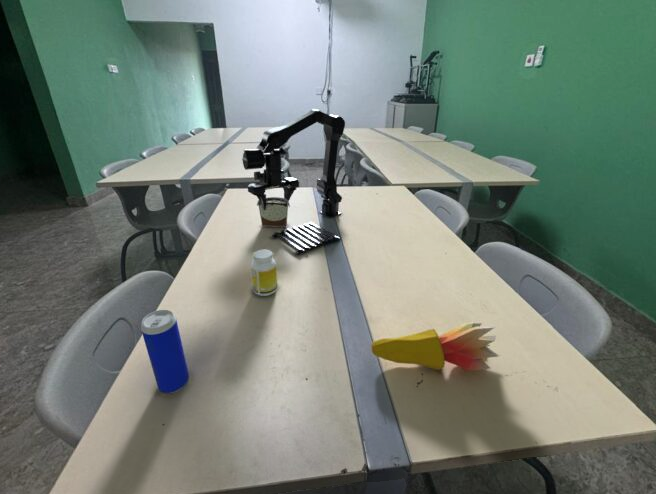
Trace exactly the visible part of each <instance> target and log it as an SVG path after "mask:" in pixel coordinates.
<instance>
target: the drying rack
mask: <svg viewBox="0 0 656 494" xmlns="http://www.w3.org/2000/svg"><path fill="white" fill-rule="evenodd" d="M271 237H272V239H278V238H279V239H281V240H282V241H284V242H285V243H286V244H288V245H289V246H290V247H292V248H294V249H295V250H296V251H295V255H297V256H300V255H302V254H305V253H307V252H311V251H313V250H316V249H319V248H323V247H324V246H328V245H330V244H332V243H335V242H338V241H340V240H341V237H340V236H337V235H336V234H335V233H332V232H331V231H329V230H326V229H325V228H323V227H321V226H320V225H317V224H316V223H315V222H312V221H310V222H308V223H303V224H302V225H301V224H299V225H297V227H296V226H293V227H291V228H286V230H284V229H282V230H280V231H279V232H278V231H275V232H274V233H273V234H272V235H271Z"/></svg>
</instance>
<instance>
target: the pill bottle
mask: <svg viewBox="0 0 656 494" xmlns="http://www.w3.org/2000/svg"><path fill="white" fill-rule="evenodd" d="M252 257H253V261H252V262H251V264H250V265H251V267H250V268H251V277H252V287H253V288H252V289H253V292H254V293H255V294H256V295H257V296H261V297H268V296H271V295H273V294H274V293H275V292H276V291H277V290H278V278H277V277H278V275H277V264H276V260H275V259H274V258H273V257H274V256H273V252H272V251H271V250H270V249H258V250H256V251H254V252H253V256H252Z"/></svg>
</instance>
